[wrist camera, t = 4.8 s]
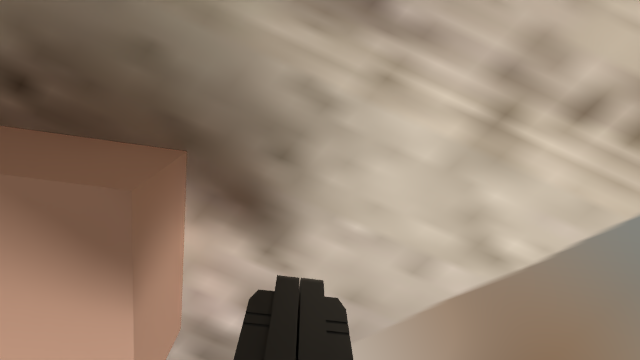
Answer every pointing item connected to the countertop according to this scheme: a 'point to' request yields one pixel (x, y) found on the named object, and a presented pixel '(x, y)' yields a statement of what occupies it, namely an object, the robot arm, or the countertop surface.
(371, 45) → the countertop surface
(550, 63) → the countertop surface
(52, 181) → the terracotta block
